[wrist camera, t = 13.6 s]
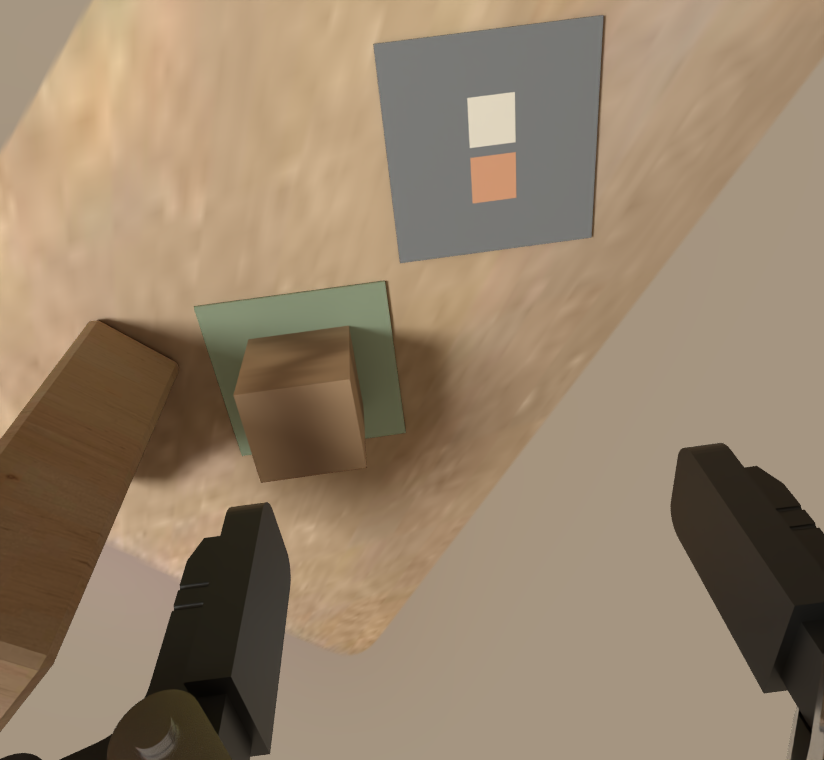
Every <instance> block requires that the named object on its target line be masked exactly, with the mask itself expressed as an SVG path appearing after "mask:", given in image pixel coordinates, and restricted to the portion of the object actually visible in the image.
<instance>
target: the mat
mask: <svg viewBox="0 0 824 760" xmlns="http://www.w3.org/2000/svg"><path fill="white" fill-rule="evenodd" d="M194 310H195V313H196V316H197V319H198V322H199V325H200V329H201V332H202V335H203V338H204V341H205V344H206V347H207V350H208V353H209V356H210V359H211V362H212V365H213V368H214V371H215V375H216V378H217V381H218V384H219V387H220V390H221V393H222V396H223V399H224V402H225V405H226V408H227V411H228V414H229V417H230V421H231V424H232V427H233V430H234V433H235V436H236V439H237V442H238V445H239V448H240V451H241V454H242V456H245V455H252V453H251V450H250V446H249V443H248V440H247V437H246V434H245V431H244V427H243V424H242V421H241V418H240V415H239V412H238V408H237V405H236V402H235V399H234V396H233V395H234V391H235V387H236V384H237V380H238V376H239V372H240V369H241V365H242V361H243V358H244V354H245V350H246V346H247V343H248V339H254V338H261V337H269V336H276V335H283V334H291V333H298V332H305V331H313V330H320V329H327V328H334V327H342V326H349V329H350V335H351V340H352V346H353V351H354V357H355V362H356V368H357V373H358V379H359V384H360V390H361V396H362V401H363V407H364V425H365V439H366V438H373V437H380V436H387V435H395V434H402V433H406V431H405V424H404V417H403V410H402V402H401V395H400V388H399V381H398V373H397V366H396V359H395V352H394V344H393V337H392V330H391V323H390V315H389V308H388V301H387V294H386V287H385V281H379V282H372V283H364V284H357V285H349V286H342V287H334V288H327V289H320V290H312V291H305V292H297V293H290V294H282V295H275V296H268V297H260V298H253V299H245V300H238V301H231V302H223V303H216V304H208V305H201V306H194Z"/></svg>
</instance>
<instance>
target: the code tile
mask: <svg viewBox="0 0 824 760" xmlns="http://www.w3.org/2000/svg"><path fill="white" fill-rule="evenodd" d="M602 32H603V15H599V16H591V17H583V18H575V19H568V20H560V21H552V22H544V23H536V24H528V25H520V26H512V27H504V28H496V29H488V30H480V31H473V32H465V33H457V34H449V35H441V36H433V37H425V38H417V39H409V40H401V41H393V42H385V43H378V44H373V45H374V53H375V62H376V70H377V78H378V86H379V94H380V103H381V111H382V119H383V127H384V136H385V144H386V152H387V160H388V168H389V177H390V185H391V193H392V201H393V209H394V218H395V226H396V234H397V242H398V251H399V259H400V263H405V262H412V261H420V260H427V259H435V258H442V257H450V256H457V255H465V254H472V253H479V252H487V251H494V250H502V249H509V248H517V247H524V246H532V245H539V244H546V243H554V242H561V241H569V240H576V239H584V238H591V235H592V217H593V198H594V180H595V161H596V143H597V124H598V106H599V87H600V69H601V50H602Z"/></svg>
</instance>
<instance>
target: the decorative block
mask: <svg viewBox="0 0 824 760" xmlns="http://www.w3.org/2000/svg"><path fill="white" fill-rule="evenodd" d="M178 371H179V368H178V365H177V363H176V362H174V361H173V360H171V359H169V358H167V357H165V356H163V355H161V354H160V353H158V352H156V351H154V350H152V349H150V348H149V347H147V346H145V345H143V344H141V343H139V342H137V341H136V340H134V339H132V338H130V337H128V336H126V335H124V334H123V333H121V332H119V331H117V330H115V329H113V328H111V327H110V326H108V325H106V324H104V323H102V322H100V321H90V322H89V323H88V324H87V325H86V327H85V328H84V329H83V331H82V332H81V333H80V335H79V336H78V337H77V339H76V340H75V341H74V343H73V344H72V345H71V347H70V348H69V349H68V350H67V352H66V353H65V354H64V356H63V357H62V358H61V360H60V361H59V362H58V364H57V365H56V366H55V368H54V369H53V370H52V372H51V373H50V374H49V376H48V377H47V378H46V380H45V381H44V382H43V384H42V385H41V386H40V388H39V389H38V390H37V392H36V393H35V394H34V395H33V397H32V398H31V399H30V401H29V402H28V403H27V405H26V406H25V407H24V409H23V410H22V411H21V413H20V414H19V415H18V417H17V418H16V419H15V421H14V422H13V423H12V425H11V426H10V427H9V429H8V430H7V431H6V433H5V434H4V435H3V437H2V438H1V439H0V732H1V730H2V729H3V728H4V727H5V725H6V724H7V723H8V722H9V720H10V719H11V718H12V716H13V715H14V714H15V713H16V711H17V710H18V709H19V707H20V706H21V705H22V703H23V702H24V701H25V700H26V698H27V697H28V696H29V695H30V693H31V692H32V691H33V689H34V688H35V687H36V686H37V684H38V683H39V682H40V681H41V679H42V678H43V677H44V675H45V674H46V673H47V672H48V670H49V669H50V667H51V666H52V665H53V664H54V661H55V659H56V656H57V654H58V652H59V650H60V647H61V645H62V643H63V640H64V638H65V636H66V633H67V631H68V629H69V626H70V624H71V621H72V619H73V617H74V615H75V612H76V610H77V608H78V605H79V603H80V601H81V598H82V596H83V594H84V591H85V589H86V586H87V584H88V582H89V579H90V577H91V575H92V573H93V570H94V568H95V566H96V563H97V561H98V558H99V556H100V554H101V552H102V549H103V547H104V545H105V542H106V540H107V538H108V535H109V533H110V530H111V528H112V526H113V523H114V521H115V519H116V516H117V514H118V512H119V509H120V507H121V505H122V502H123V500H124V498H125V495H126V493H127V491H128V488H129V486H130V484H131V481H132V479H133V477H134V474H135V472H136V470H137V467H138V465H139V463H140V460H141V458H142V456H143V453H144V451H145V449H146V446H147V444H148V442H149V439H150V437H151V435H152V432H153V430H154V428H155V425H156V423H157V421H158V418H159V416H160V414H161V411H162V409H163V406H164V404H165V402H166V399H167V397H168V395H169V392H170V390H171V388H172V385H173V383H174V381H175V378H176V376H177V374H178Z"/></svg>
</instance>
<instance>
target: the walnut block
mask: <svg viewBox="0 0 824 760" xmlns="http://www.w3.org/2000/svg"><path fill="white" fill-rule="evenodd" d="M233 396H234V399H235V402H236V405H237V408H238V412H239V415H240V418H241V421H242V424H243V427H244V431H245V434H246V437H247V440H248V443H249V446H250V450H251V453H252V456H253V459H254V462H255V465H256V469H257V472H258V475H259V478H260V481H261V483H263V482H270V481H277V480H284V479H291V478H298V477H305V476H312V475H319V474H326V473H333V472H340V471H347V470H354V469H361V468H367V467H366V446H365V425H364V407H363V401H362V396H361V390H360V384H359V379H358V373H357V368H356V362H355V357H354V351H353V346H352V340H351V335H350V329H349V326H342V327H334V328H327V329H320V330H313V331H305V332H298V333H291V334H283V335H276V336H269V337H261V338H254V339H248V343H247V346H246V350H245V354H244V358H243V361H242V365H241V369H240V372H239V376H238V380H237V384H236V387H235V391H234V395H233Z"/></svg>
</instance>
